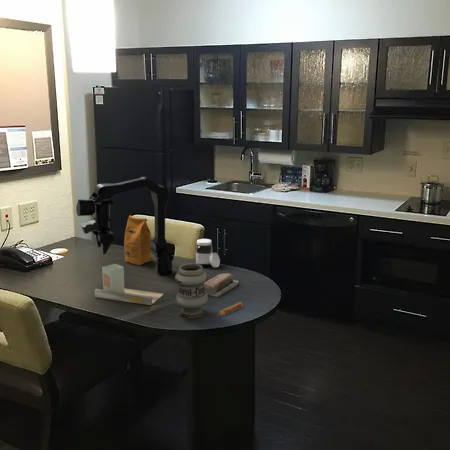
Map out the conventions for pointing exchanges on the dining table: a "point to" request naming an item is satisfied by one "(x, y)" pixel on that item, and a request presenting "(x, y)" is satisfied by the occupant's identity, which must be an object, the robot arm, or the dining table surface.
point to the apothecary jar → (191, 290)
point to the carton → (113, 278)
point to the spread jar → (206, 254)
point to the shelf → (130, 296)
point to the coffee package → (137, 241)
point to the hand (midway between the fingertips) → (101, 250)
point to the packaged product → (219, 284)
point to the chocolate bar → (230, 308)
